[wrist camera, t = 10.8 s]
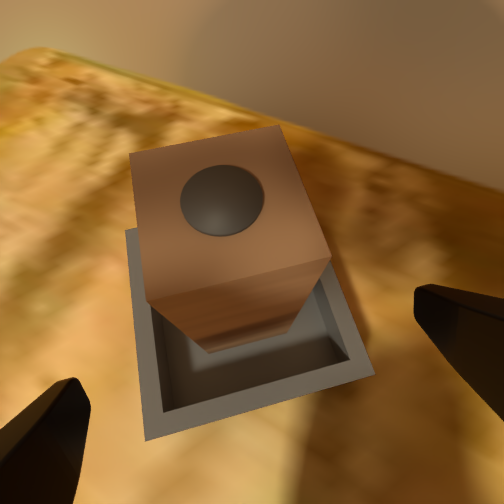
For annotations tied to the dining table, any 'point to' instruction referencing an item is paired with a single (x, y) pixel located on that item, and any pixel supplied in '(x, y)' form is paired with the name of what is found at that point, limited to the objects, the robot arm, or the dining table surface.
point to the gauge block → (226, 236)
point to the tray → (240, 359)
